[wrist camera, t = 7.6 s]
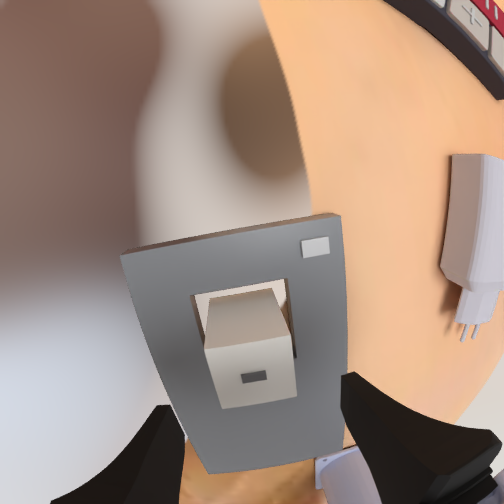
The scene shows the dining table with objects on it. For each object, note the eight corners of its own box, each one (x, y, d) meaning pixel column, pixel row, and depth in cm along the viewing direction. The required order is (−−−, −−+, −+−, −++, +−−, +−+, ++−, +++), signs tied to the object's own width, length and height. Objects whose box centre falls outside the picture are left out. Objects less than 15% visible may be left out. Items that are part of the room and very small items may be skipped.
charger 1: (271, 288, 19) (291, 336, 13) (278, 339, 20) (297, 398, 14) (209, 298, 18) (203, 351, 12) (222, 349, 19) (222, 411, 13)
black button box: (522, 100, 13) (402, -27, 10) (491, 102, 17) (374, -4, 14) (521, 31, 11) (417, -71, 8) (496, 37, 15) (396, -53, 12)
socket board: (331, 212, 18) (342, 216, 16) (338, 439, 23) (343, 452, 21) (127, 249, 17) (117, 256, 15) (208, 463, 23) (208, 476, 21)
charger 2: (417, 333, 21) (446, 153, 17) (479, 323, 22) (505, 175, 18) (448, 362, 16) (489, 152, 13) (508, 343, 17) (541, 179, 14)
